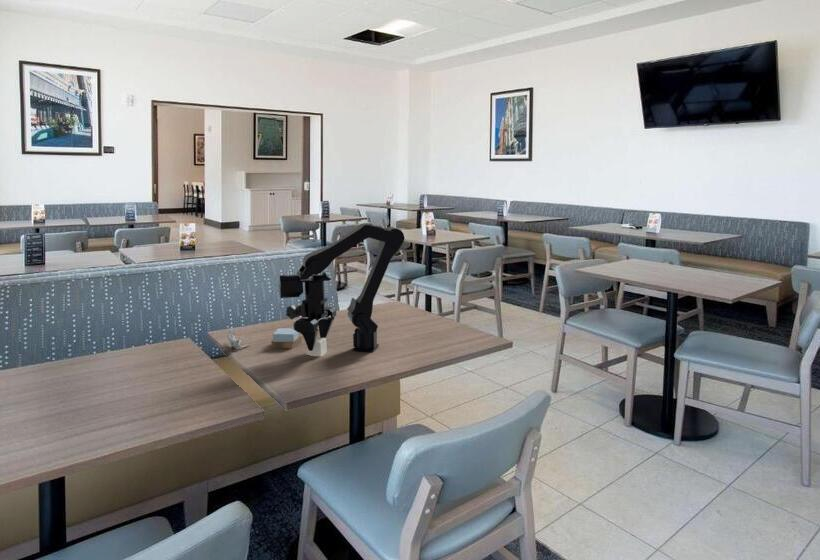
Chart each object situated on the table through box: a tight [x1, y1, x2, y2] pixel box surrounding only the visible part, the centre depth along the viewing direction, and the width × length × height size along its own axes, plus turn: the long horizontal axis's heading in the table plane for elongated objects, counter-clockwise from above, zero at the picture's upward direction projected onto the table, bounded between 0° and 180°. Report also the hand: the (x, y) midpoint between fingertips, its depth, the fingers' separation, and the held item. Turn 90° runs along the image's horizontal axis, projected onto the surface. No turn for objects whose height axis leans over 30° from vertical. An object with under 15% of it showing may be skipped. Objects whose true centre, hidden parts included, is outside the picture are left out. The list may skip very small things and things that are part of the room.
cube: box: [306, 337, 328, 357], centre depth 176 cm, size 4×4×4 cm
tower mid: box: [272, 327, 300, 342], centre depth 185 cm, size 6×6×2 cm
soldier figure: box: [227, 328, 250, 350], centre depth 183 cm, size 8×5×12 cm
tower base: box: [270, 335, 303, 350], centre depth 185 cm, size 7×7×2 cm
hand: (316, 345), depth 176 cm, fingers open, 9 cm apart
